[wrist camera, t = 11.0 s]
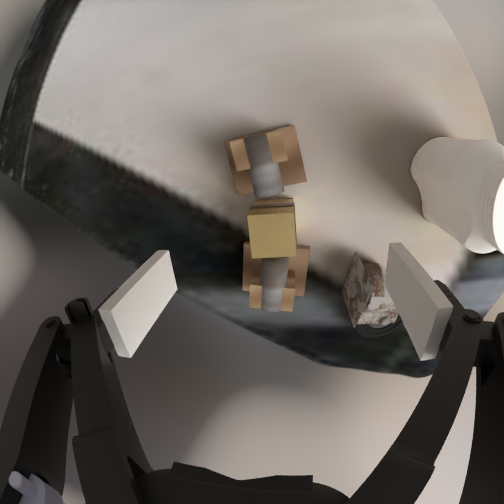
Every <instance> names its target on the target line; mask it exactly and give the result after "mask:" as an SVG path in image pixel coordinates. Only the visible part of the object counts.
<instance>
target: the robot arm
mask: <svg viewBox="0 0 504 504" xmlns="http://www.w3.org/2000/svg"><path fill="white" fill-rule="evenodd" d="M384 285H385V287H386V289H387V291H388V293H389V295H390V297H391V299H392V301H393V303H394V305H395V307H396V309H397V311H398V313H399V315H400V317H401V319H402V321H403V323H404V325H405V327H406V329H407V331H408V334H409V336H410V338H411V340H412V342H413V344H414V347H415V349H416V351H417V354H418V356H419V358H420V361H422V360H428V359H434V358H435V357H436V354H437V352H438V349H439V348H440V350H441V352H442V355H441V358H440V360H439V362H438V364H437V367H436V369H435V371H434V373H433V375H432V377H431V379H430V381H429V384H428V385H427V387H426V389H425V391H424V393H423V395H422V397H421V399H420V401H419V403H418V404H417V406H416V408H415V410H414V411H413V413H412V415H411V416H410V418H409V420H408V422H407V423H406V425H405V426H404V428H403V430H402V431H401V433H400V434H399V436H398V437H397V439H396V440H395V442H394V443H393V445H392V446H391V448H390V449H389V450H388V452H387V453H386V454H385V456H384V457H383V458H382V460H381V461H380V463H379V464H378V465H377V467H376V468H375V469H374V470H373V472H372V473H371V474H370V476H369V477H368V478H367V479H366V480H365V482H364V483H363V484H362V485H361V486H360V487H359V489H358V490H357V491H356V492H355V493H354V494H353V495H352V497H351V498H350V499H349V498H348V497H347V496H346V495H344V494H343V493H341V492H340V491H338V490H336V489H333V488H331V487H329V486H326V485H323V484H319V483H314V482H312V481H313V475H306V476H283V475H282V476H281V475H280V476H279V475H276V476H270V477H263V478H256V479H249V480H236V479H233V478H230V477H227V476H224V475H221V474H219V473H217V472H214V471H211V470H209V469H207V468H203V467H197V466H192V465H187V464H182V463H178V462H174V463H173V466H172V468H171V469H161V470H155V471H154V470H153V469H152V468H151V466H150V464H149V462H148V461H147V458H146V456H145V453H144V451H143V449H142V446H141V443H140V441H139V438H138V436H137V433H136V430H135V428H134V425H133V422H132V420H131V416H130V414H129V411H128V408H127V405H126V401H125V398H124V395H123V392H122V388H121V385H120V381H119V378H118V374H117V371H116V366H115V362H114V358H113V356H112V354H111V350H112V349H113V347H115V349H116V351H117V353H118V355H119V356H123V357H129V358H131V357H132V355H133V354H134V352H135V351H136V349H137V348H138V346H139V345H140V343H141V342H142V340H143V339H144V337H145V336H146V334H147V333H148V331H149V330H150V328H151V327H152V325H153V324H154V322H155V321H156V319H157V318H158V316H159V315H160V313H161V312H162V310H163V309H164V308H165V306H166V305H167V303H168V302H169V300H170V299H171V298H172V296H173V295H174V293H175V292H176V290H177V285H176V281H175V277H174V273H173V268H172V264H171V259H170V255H169V250H159V251H157V252H156V253H155V254H154V255H153V256H151V257H150V258H149V259H148V260H147V261H146V262H145V263H144V264H143V265H142V266H141V267H140V268H139V269H138V270H137V271H136V272H135V273H134V274H133V275H132V276H131V277H130V278H129V279H128V280H127V281H126V282H125V283H124V284H123V285H122V286H121V287H120V288H118V289H116V290H115V291H113V292H112V293H111V294H110V295H109V296H108V298H106V299H105V300H104V302H102V303H101V304H100V305H99V306H98V307H97V308H96V309H95V310H94V311H92V309H91V306H90V304H89V301H88V299H86V298H78V299H75V300H73V301H71V302H69V303H68V304H67V305H66V306H65V311H66V314H67V316H68V318H69V320H70V323H71V324H63V323H62V321H61V319H60V317H58V316H53V317H49V318H47V319H46V320H45V321H44V322H43V323H42V324H41V326H40V328H39V329H38V332H37V334H36V336H35V338H34V340H33V342H32V344H31V346H30V349H29V351H28V353H27V355H26V358H25V360H24V363H23V365H22V367H21V370H20V372H19V375H18V377H17V380H16V383H15V385H14V388H13V391H12V394H11V396H10V400H9V402H8V406H7V409H6V412H5V416H4V419H3V422H2V426H1V429H0V504H64V503H63V499H62V494H63V489H64V483H65V469H66V452H67V441H68V431H69V424H70V416H71V410H72V403H73V397H74V404H75V412H76V419H77V427H78V434H79V435H78V436H74V437H73V439H72V445H73V451H74V456H75V461H76V466H77V471H78V475H79V479H80V483H81V487H82V491H83V494H84V498H85V501H86V504H414V503H415V501H416V500H417V498H418V497H419V495H420V494H421V492H422V491H423V489H424V487H425V486H426V484H427V482H428V481H429V479H430V477H431V475H432V473H433V471H434V468H435V466H434V462H435V460H436V458H437V456H438V454H439V452H440V450H441V448H442V446H443V444H444V442H445V440H446V438H447V436H448V434H449V431H450V429H451V427H452V425H453V422H454V420H455V417H456V415H457V412H458V410H459V407H460V405H461V402H462V399H463V396H464V394H465V390H466V387H467V385H468V381H469V378H470V375H471V371H472V368H473V367H476V409H475V422H474V433H473V440H472V447H471V454H470V460H469V465H468V470H467V475H466V479H465V484H464V487H463V492H462V495H461V498H460V502H459V504H504V312H502V313H499V314H498V315H497V317H496V319H495V322H488V321H483V318H482V317H481V315H480V314H479V313H477V312H475V311H473V310H470V309H464V307H463V306H462V305H461V304H460V302H459V301H458V300H457V298H456V297H455V296H454V295H453V293H452V292H450V290H449V289H448V287H447V286H446V285H445V284H443V283H442V282H440V281H439V280H434V281H433V279H432V278H431V277H430V276H429V274H428V273H427V272H426V271H425V270H424V268H423V267H422V266H421V265H420V264H419V262H418V261H417V260H416V259H415V258H414V257H413V256H412V254H411V253H410V252H409V251H408V250H407V249H406V248H405V246H404V245H403V244H402V243H389V253H388V262H387V270H386V277H385V284H384Z"/></svg>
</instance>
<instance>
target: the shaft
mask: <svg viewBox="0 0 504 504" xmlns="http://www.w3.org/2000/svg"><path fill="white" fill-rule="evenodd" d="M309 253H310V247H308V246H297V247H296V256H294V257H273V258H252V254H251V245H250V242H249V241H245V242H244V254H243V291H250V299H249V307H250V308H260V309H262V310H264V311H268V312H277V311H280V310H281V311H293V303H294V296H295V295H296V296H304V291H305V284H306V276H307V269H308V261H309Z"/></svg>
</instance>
